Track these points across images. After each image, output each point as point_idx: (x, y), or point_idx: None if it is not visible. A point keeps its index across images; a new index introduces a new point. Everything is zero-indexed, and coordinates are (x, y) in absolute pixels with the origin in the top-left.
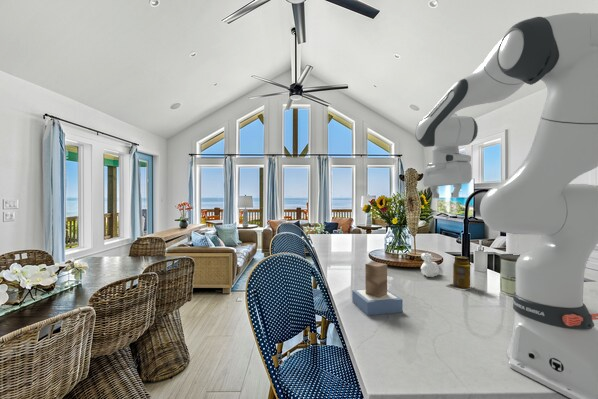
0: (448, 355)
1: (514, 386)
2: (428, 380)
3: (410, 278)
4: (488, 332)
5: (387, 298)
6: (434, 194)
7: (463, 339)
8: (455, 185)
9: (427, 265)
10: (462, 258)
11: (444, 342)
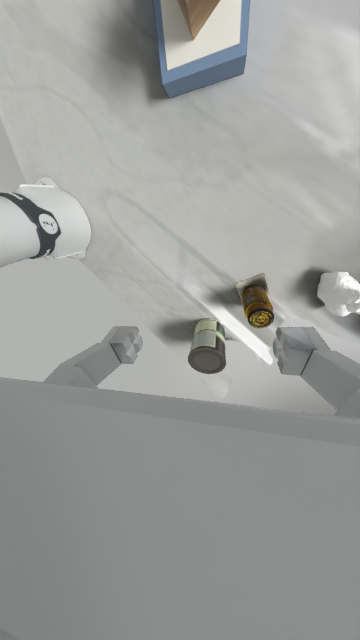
0: (48, 108)
1: (20, 155)
2: None
3: (339, 235)
4: (113, 214)
5: (165, 25)
6: (299, 343)
7: (91, 164)
8: (56, 375)
9: (337, 286)
10: (252, 314)
11: (77, 125)
